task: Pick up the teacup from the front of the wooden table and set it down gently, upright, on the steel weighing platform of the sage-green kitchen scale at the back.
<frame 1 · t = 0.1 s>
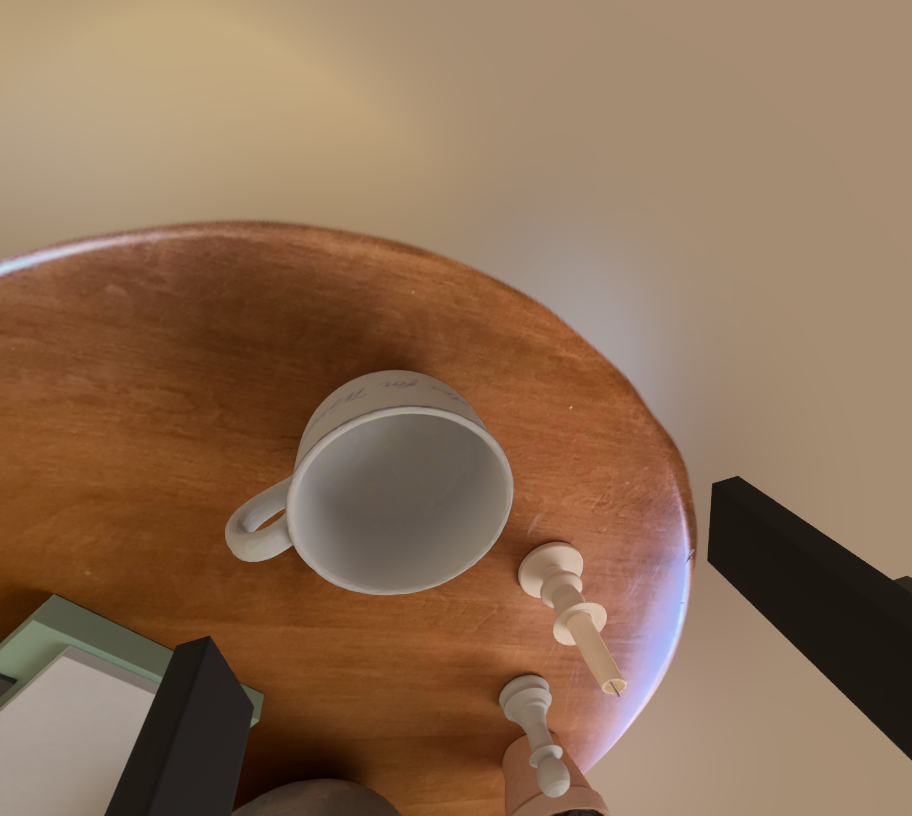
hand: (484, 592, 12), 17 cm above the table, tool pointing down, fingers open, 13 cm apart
candle: (548, 566, 35), on the table
bowl: (305, 798, 40), on the table
teacup: (367, 439, 28), on the table
scale: (89, 719, 32), on the table
potted plant: (529, 750, 44), on the table
chess piece: (522, 689, 40), on the table
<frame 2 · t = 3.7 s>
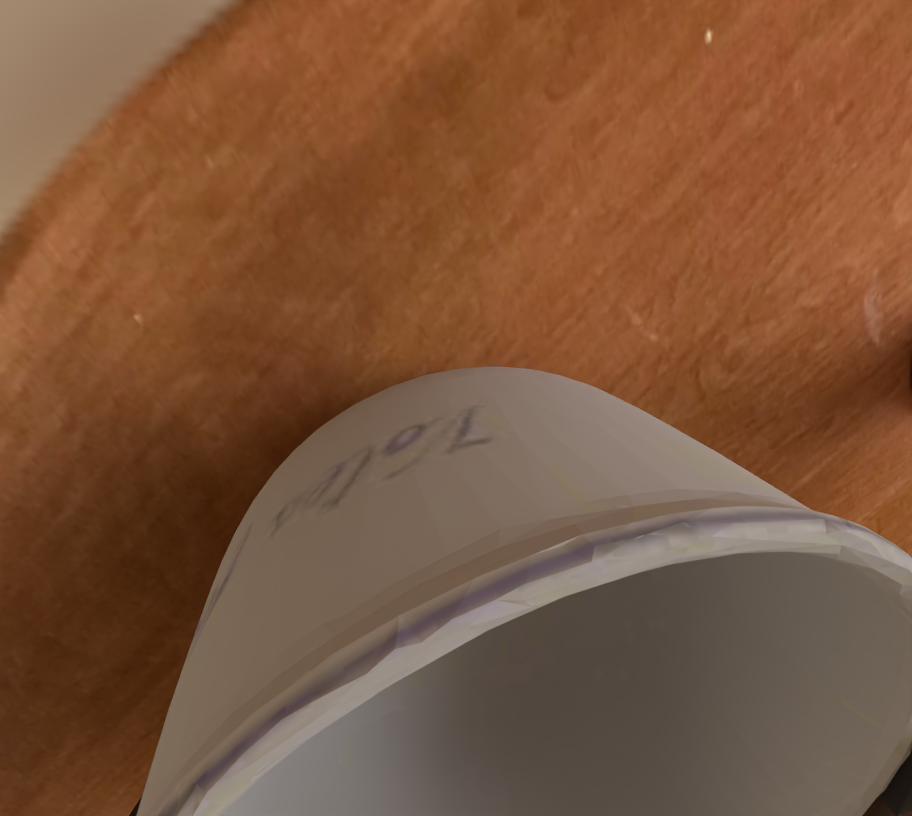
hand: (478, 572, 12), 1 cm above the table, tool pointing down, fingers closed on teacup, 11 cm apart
bowl: (873, 789, 28), on the table
teacup: (432, 553, 13), on the table, touching gripper
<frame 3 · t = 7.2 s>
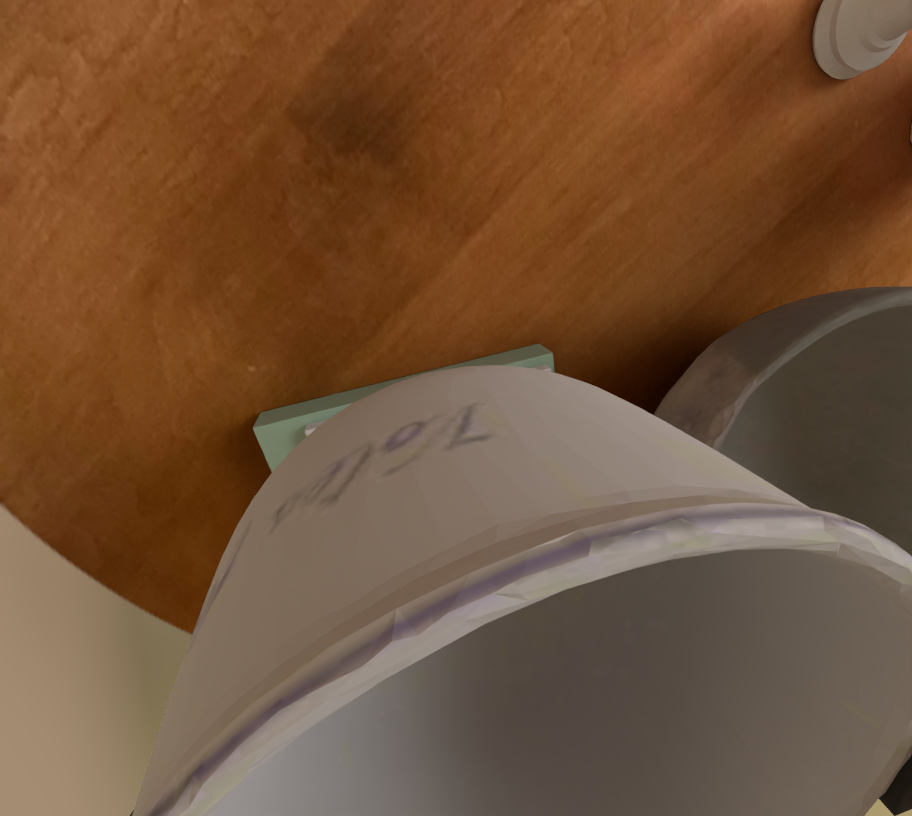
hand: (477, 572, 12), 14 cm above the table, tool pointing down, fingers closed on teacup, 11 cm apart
bowl: (713, 418, 31), on the table
teacup: (433, 552, 13), point 13 cm above the table, touching gripper
scale: (435, 498, 28), on the table
chess piece: (846, 26, 23), on the table
when the fingers open (4 cm above the table, at t = 10.8 s): teacup stays where it is, resting on scale.
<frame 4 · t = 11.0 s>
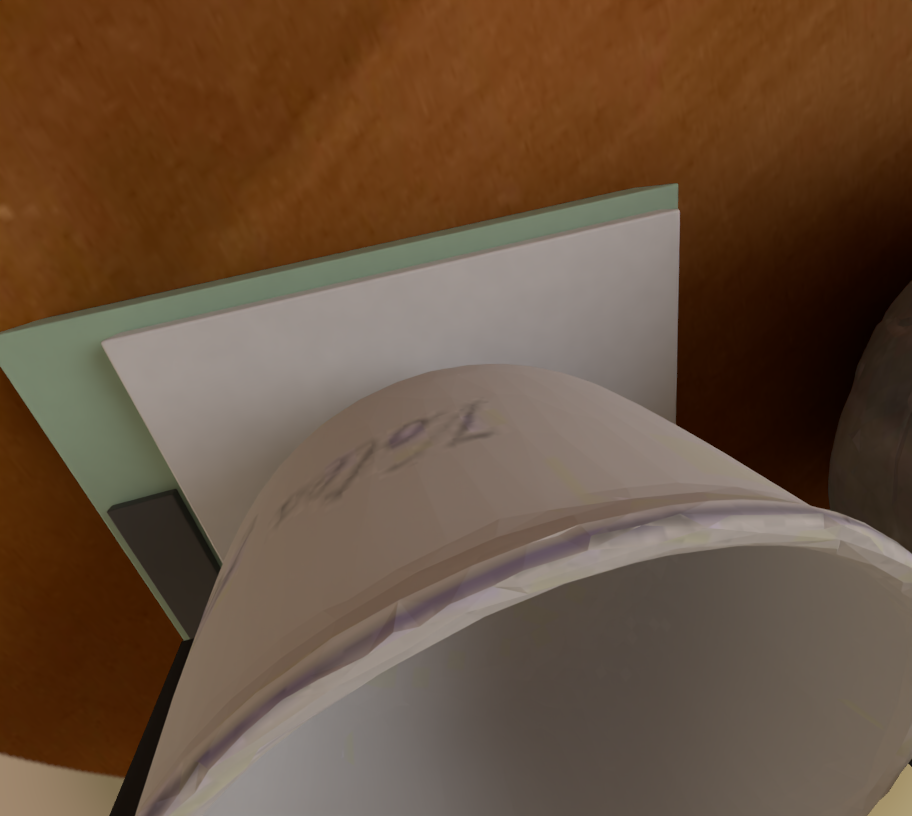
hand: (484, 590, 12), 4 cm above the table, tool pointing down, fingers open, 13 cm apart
teacup: (436, 550, 13), point 3 cm above the table, touching scale
scale: (427, 502, 15), on the table
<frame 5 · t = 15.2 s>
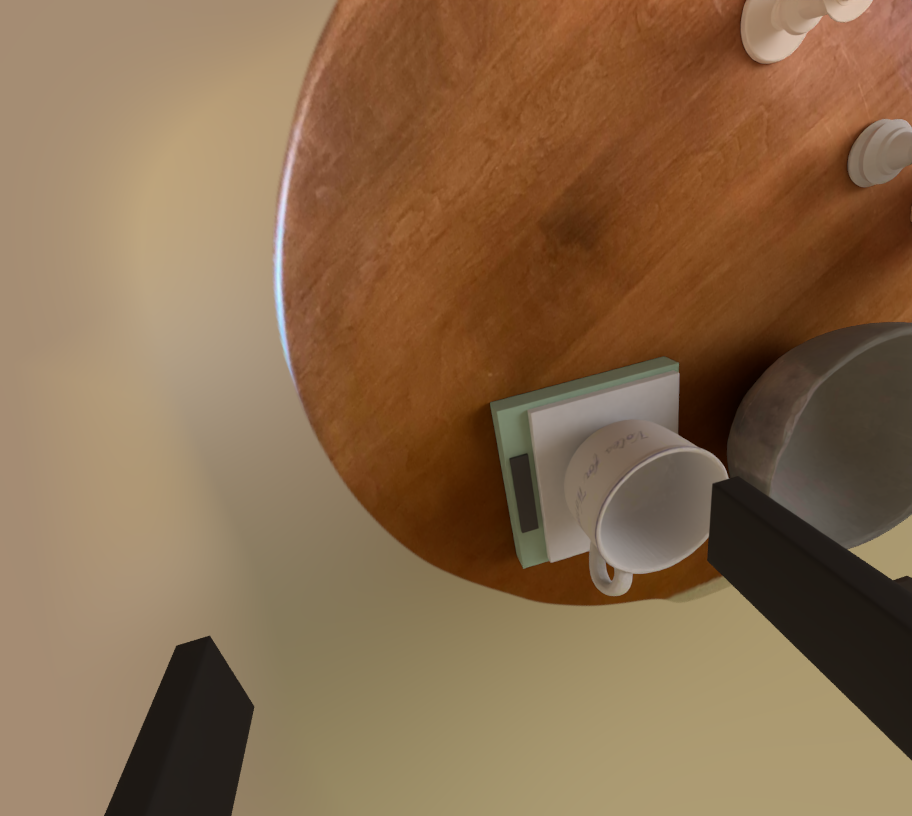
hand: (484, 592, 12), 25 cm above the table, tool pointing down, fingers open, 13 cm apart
candle: (771, 18, 30), on the table
bowl: (773, 406, 44), on the table
teacup: (598, 475, 39), point 3 cm above the table, touching scale
scale: (585, 461, 42), on the table
chess piece: (868, 154, 36), on the table
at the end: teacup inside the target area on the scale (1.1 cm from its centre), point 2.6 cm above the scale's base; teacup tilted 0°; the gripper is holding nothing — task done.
